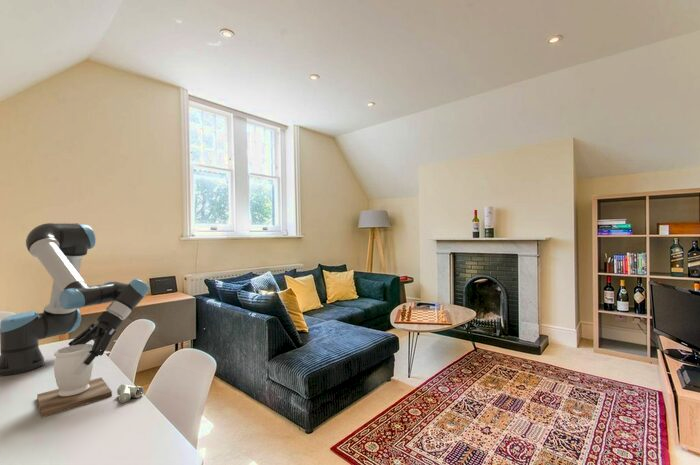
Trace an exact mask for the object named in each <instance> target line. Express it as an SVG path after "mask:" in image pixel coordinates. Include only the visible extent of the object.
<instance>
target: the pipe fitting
mask: <svg viewBox="0 0 700 465" xmlns="http://www.w3.org/2000/svg"><path fill="white" fill-rule="evenodd" d="M138 389H139V390H138ZM144 389H145V388H144V386H139V385H137V386H136V385H130V384H122V383H121V384H120V385H119V386H118V388H116V394H117V396H119V397H118V401H119V403H122V404H123V403H128V402H129V401H130V400H131V398H134V399H135V398H137V399H138V398H141V397H142V396H143V395H144V392H145V390H144ZM141 392H142V393H141Z"/></svg>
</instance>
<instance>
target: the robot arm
mask: <svg viewBox="0 0 700 465" xmlns="http://www.w3.org/2000/svg"><path fill="white" fill-rule="evenodd" d="M96 239H97V238H96V234H95V231H94V230H93V228H92V227H91V226H90V225H88V224H85V223H54V222H49V223H43V224H40V225H37V226H35V227H34V228H33V229H32V230H30V231H29V233H28V234H27V236H26V240H25V246H26V249H27V251H28V252H29V254H30V255H31V256H32V257H35V258H37V259H38V261H39V262H40V263H41V265H42V266H43V267H44V269H45V270H46V272H47V273H48V274H49V275H50V277H51V278H52V280H53V281H52V287H51V293H50V298H49V302H48V304H46V305H45V306H44V309H43V312H40V313H39V312H38V311H36V310H29V311H25V312H19V313H15V314H12V315H9V316H7V317H5V318H3V319H2V320H1V321H0V375H5V376H11V375H18V374H22V373H26V372H30V371H33V370H36V369H39V368H40V366H41V367H42V366H44V365H45V358H44V356H43V354H42V352H41V349H40V348H39V341H40V340H44V339H48V338H52V337H57V336H60V335H62V336H63V335H67V334H68V333H72V332H74V331H75V330H77V329H78V328H79V327H80V325H81V321H82V315H81V314H82V313H81V310H80V309H81V308H85V307H90V306H95V305H96V306H97V305H103V304H108V303H110V304H109V305H108V306H107V307H106V308H105V311H103V312H102V313H101V314H100V315H99V316H98V317H97V322H98V323H97V324H95V323H92V324H90V325H89V326H88V327H87V328H86V329H85V330H83V331H82V332H81V333H80V334H79V335H77V336H76V337H75V338H73V339H72V340H71V341H70V342H68V344H67V345H68V346H73V345H80V344H88V343H89V342H90V341H93V340H94V341H93V344H92V345H93V347H92V349H91V351H89V353H87V355H86V356H85V357H84V358H83V359H82V360H81V362H80V363H79V364H78V365H77V366H76V367H75V368H74V370H73V371H72V372H74V373H76V374H78V375H81V374H82V373H83V371H84V370H85V369H86V368H87V367H88V365H89V364H90V363H91V362H92V361H93V362H94V360H95V358H98V357H99V356H101V357H102V356H103V355H104V353H105V351H106V349H107V348H108V345H109V343H110V342H111V340H112V338H113V336H114V335H115V334H116V332H117V329H118V328H119V327H120V326H121V325H122V324H123V320H125V319H126V318H128V317H129V316H130V314H131V312H132V311H133V310H134V309H135V308H136V307H137V305H138V304H140V302H141V301H142V300H143V299H144V298H145V296H146V295H147V293H149V290H150V286H149V285H148V283H146V282H144V281H143V280H141V279H138V278H134V279H132V280H131V281H129V283H123V282H120V281H107V282H105V283H104V284H97V285H95V284H94V285H88V283H87V282H86V280H85V279H84V278H83V277H82V276H81V274H80V270H81V264H82V260H83V257H85V256H87V254H88V251H89V250H91V249H93V248H94V247H95V246H96V242H97V241H96ZM90 353H91V354H90ZM43 364H44V365H43ZM35 368H36V369H35Z"/></svg>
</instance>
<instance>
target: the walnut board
mask: <svg viewBox="0 0 700 465" xmlns="http://www.w3.org/2000/svg"><path fill="white" fill-rule="evenodd" d="M88 384H89V385H90V388H89V389H88V390H86V391H84V392H82V393H79V394H76V395H72V396H59V395H58V393H59V391H60V389H59V388H56V389H52V390H49V391H44V392H42V393H38V394H37V398H36V399H37V403H38V407H39V412H40V413H39V414H40V417H41V418H44V417H48V416H51V415H53V414H57V413H61V412H64V411H67V410H71V409H73V408H77V407H81V406H84V405H87V404H89V403H93V402H96V401H100V400H103V399H106V398H110V397H112V396H113V391H112V390H111V388H110V387H109V386H108V384H107V382H105V380H104V379H103V377H97V378H94V379H90V381H89V382H88Z"/></svg>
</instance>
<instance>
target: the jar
mask: <svg viewBox="0 0 700 465" xmlns="http://www.w3.org/2000/svg"><path fill="white" fill-rule="evenodd" d="M92 347H93V344H90V343H86V344H80V345H73V346H70V345H68V346H64V347H61V348H59V349H57V350H55V351H54V352H53V356H55V360H54V364H53V372H54V378H55V383H56V386H57V389H60V391H59V393H58V395H59V396H72V395H76V394H79V393H82V392H84V391H86V390H88V389H89V388H90V385H89V384H88V382H89V381H90V380H91V378H92V373H93V368H94V360H93V361H92V362H91V363H90V364H89V365H88V367H87V368H86V369H85V370H84V371H83V373H82V374H81V375H78V374H76V373H74V372H72V371H73V370H74V368H75V367H76V366H77V365H78V364H79V363H80V362H81V360H82V359H83V358H84V357H85V356H86V355H87V353H89V351H91V349H92ZM90 354H91V353H90Z"/></svg>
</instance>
